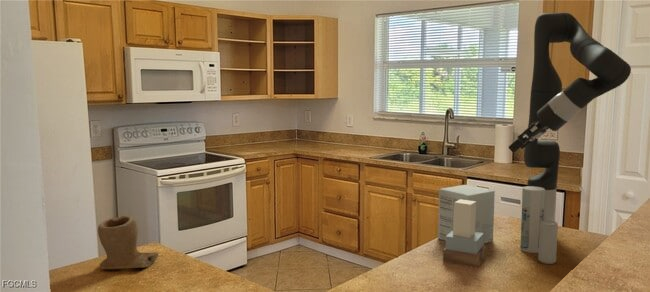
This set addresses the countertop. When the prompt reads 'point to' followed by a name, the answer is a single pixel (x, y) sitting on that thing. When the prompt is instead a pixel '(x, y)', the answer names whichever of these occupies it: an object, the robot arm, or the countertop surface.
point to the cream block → (464, 218)
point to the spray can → (531, 217)
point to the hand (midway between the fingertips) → (515, 148)
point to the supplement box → (471, 193)
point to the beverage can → (548, 242)
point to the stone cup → (122, 245)
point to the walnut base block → (464, 257)
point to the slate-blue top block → (465, 243)
